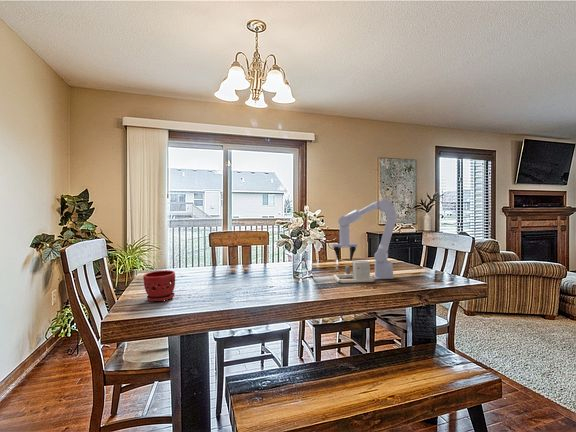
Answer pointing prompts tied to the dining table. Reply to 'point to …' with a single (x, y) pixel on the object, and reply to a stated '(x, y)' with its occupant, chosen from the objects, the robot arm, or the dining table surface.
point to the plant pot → (159, 285)
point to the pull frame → (347, 274)
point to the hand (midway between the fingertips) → (344, 259)
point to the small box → (361, 270)
